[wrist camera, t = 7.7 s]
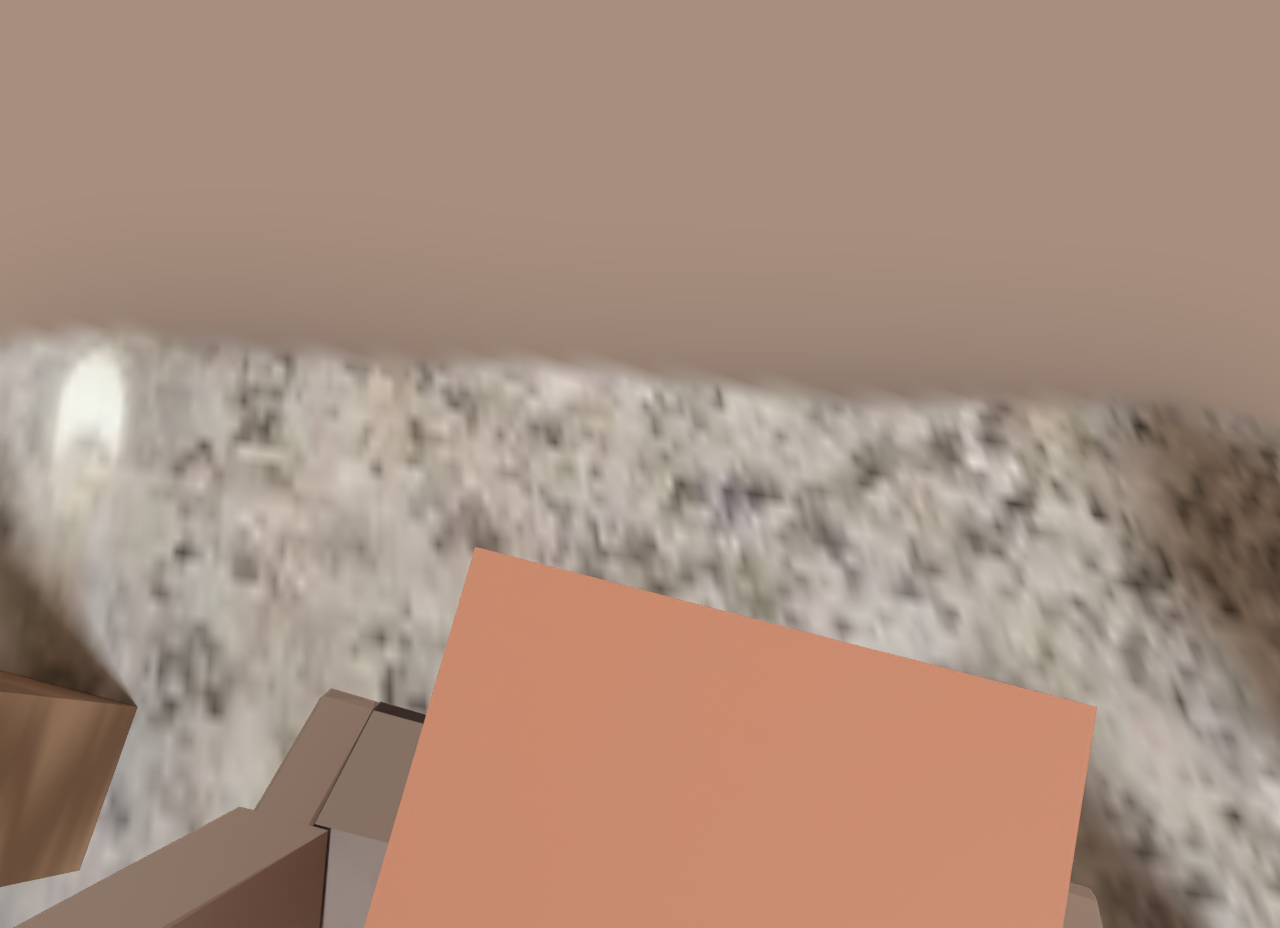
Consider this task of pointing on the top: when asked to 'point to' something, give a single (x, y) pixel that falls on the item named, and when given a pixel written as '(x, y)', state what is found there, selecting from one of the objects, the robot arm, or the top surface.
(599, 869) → the terracotta block
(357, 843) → the robot arm
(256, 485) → the top surface
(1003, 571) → the top surface
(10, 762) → the walnut block
